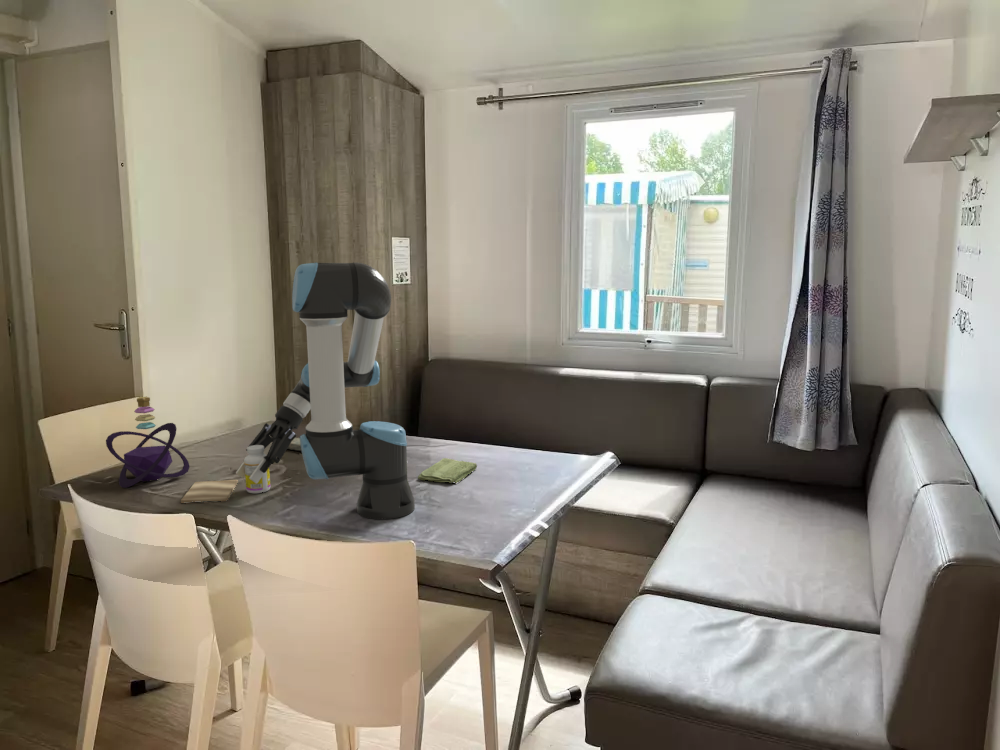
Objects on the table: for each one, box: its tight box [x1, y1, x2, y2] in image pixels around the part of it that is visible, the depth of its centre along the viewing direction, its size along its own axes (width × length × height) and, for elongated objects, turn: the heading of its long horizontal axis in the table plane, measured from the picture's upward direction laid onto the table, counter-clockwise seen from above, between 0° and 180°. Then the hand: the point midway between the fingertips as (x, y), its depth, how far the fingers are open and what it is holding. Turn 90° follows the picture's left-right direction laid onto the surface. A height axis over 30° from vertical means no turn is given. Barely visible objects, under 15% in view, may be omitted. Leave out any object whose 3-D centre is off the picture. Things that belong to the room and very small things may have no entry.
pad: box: [180, 479, 239, 504], centre depth 209 cm, size 16×12×1 cm
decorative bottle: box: [105, 396, 190, 489], centre depth 220 cm, size 22×21×25 cm
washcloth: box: [417, 457, 478, 484], centre depth 224 cm, size 13×18×3 cm
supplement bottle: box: [243, 445, 271, 494], centre depth 209 cm, size 7×7×13 cm
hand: (246, 478), depth 207 cm, fingers closed on supplement bottle, 7 cm apart
